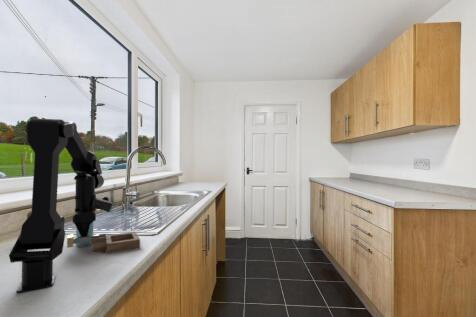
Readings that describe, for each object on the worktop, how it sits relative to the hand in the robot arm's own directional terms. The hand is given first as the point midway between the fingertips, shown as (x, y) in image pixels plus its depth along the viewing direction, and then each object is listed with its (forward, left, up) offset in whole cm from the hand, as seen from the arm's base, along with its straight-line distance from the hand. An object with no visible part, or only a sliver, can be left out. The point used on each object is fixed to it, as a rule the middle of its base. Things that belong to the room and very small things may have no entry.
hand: (84, 237), depth 86 cm
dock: (-8, -9, -2) cm, 12 cm away
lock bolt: (-8, 0, 0) cm, 8 cm away
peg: (0, 0, -2) cm, 2 cm away
